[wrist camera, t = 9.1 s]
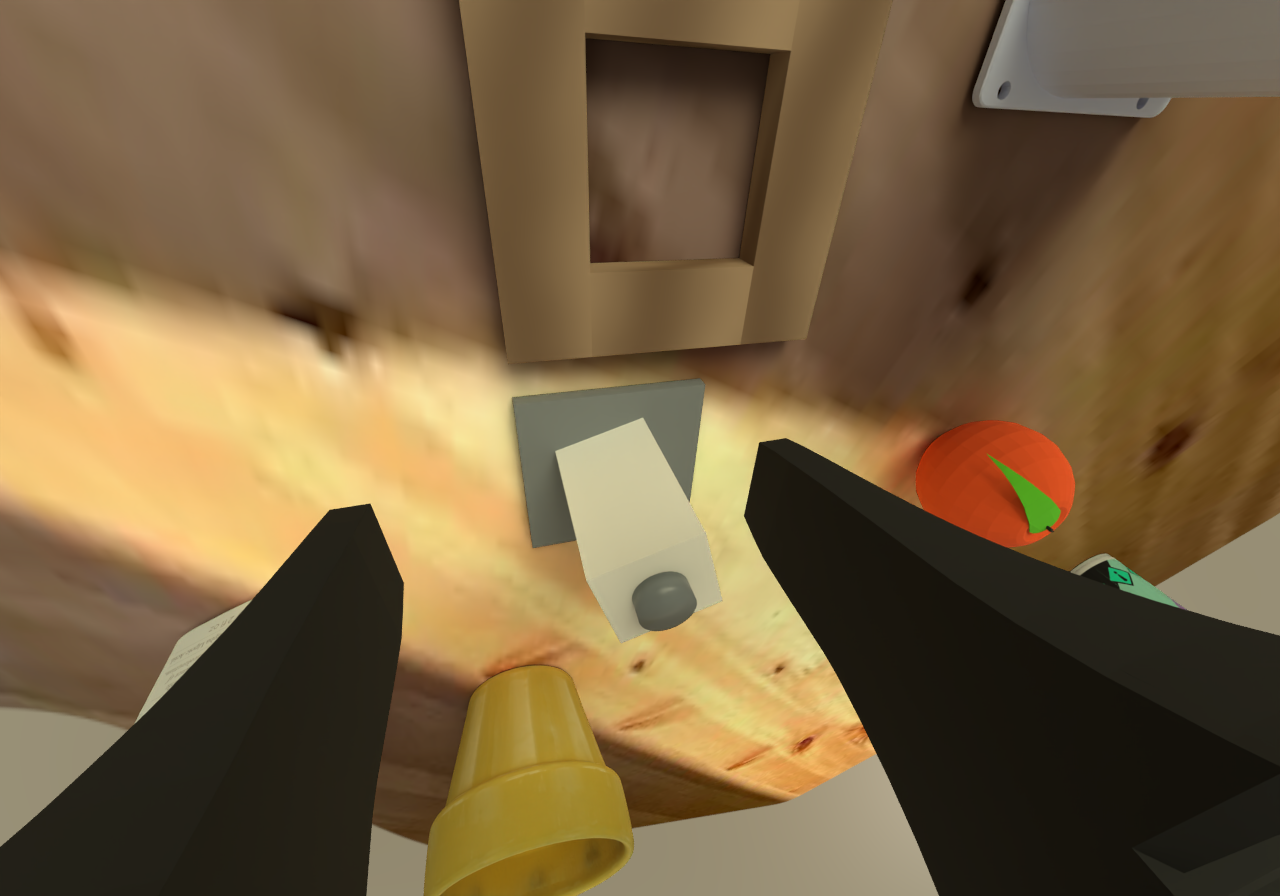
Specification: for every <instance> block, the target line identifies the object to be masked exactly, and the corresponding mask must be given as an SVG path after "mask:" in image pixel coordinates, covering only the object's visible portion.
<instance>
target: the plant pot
mask: <svg viewBox="0 0 1280 896" xmlns="http://www.w3.org/2000/svg"><path fill="white" fill-rule="evenodd" d="M633 850H634V839H633V833H632V828H631V822H630V818H629V813H628V808H627V804H626V800H625V795H624V791H623V788H622V784H621V781H620V778H619V776H618V775H617V774H616V773H615V772H614V771H613V770H612V769H610V768H608V767H607V766H605V763H604V761H603V758H602V756H601V753H600V750H599V748H598V745H597V743H596V740H595V738H594V735H593V732H592V730H591V727H590V725H589V722H588V719H587V717H586V714H585V712H584V709H583V707H582V704H581V701H580V698H579V696H578V693H577V690H576V688H575V685H574V682H573V680H572V678H571V677H570V676H569V675H568V674H567V673H566V672H564V671H563V670H561V669H559V668H555V667H552V666H544V665H532V666H524V667H519V668H514V669H511V670H508V671H505V672H502V673H500V674H497V675H495V676H494V677H492V678H490V679H488V680H487V681H485V682H484V683H483V684H481V685H480V686H479V687H478V688H477V689H476V690H475V692H474V693H473V694H472V696H471V698H470V701H469V706H468V710H467V715H466V719H465V724H464V729H463V733H462V737H461V742H460V746H459V751H458V755H457V759H456V764H455V768H454V772H453V777H452V781H451V785H450V789H449V794H448V798H447V802H446V807H445V808H444V809H443V810H442V811H441V812H440V813H439V814H438V816H437V817H436V819H435V820H434V822H433V824H432V827H431V830H430V835H429V842H428V851H427V860H426V871H425V883H424V896H577V895H579V894H581V893H583V892H585V891H587V890H589V889H591V888H593V887H595V886H596V885H598V884H600V883H602V882H603V881H605V880H607V879H608V878H610V877H611V876H612V875H614V874H615V873H616V872H617V871H619V870H620V869H621V868H622V867H623V866H624V865H625V864H626V863H627V862H628V861H629V859H630V857H631V856H632V853H633Z"/></svg>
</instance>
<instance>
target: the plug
mask: <svg viewBox="0 0 1280 896" xmlns="http://www.w3.org/2000/svg"><path fill="white" fill-rule="evenodd" d="M555 453H556V457H557V461H558V465H559V469H560V473H561V477H562V482H563V486H564V490H565V494H566V498H567V502H568V507H569V511H570V515H571V519H572V523H573V527H574V531H575V536H576V540H577V544H578V548H579V552H580V556H581V560H582V565H583V569H584V573H585V577H586V581H587V583H588V585H589V586H590V588H591V590H592V592H593V594H594V596H595V597H596V599H597V601H598V603H599V605H600V606H601V608H602V610H603V612H604V614H605V615H606V617H607V619H608V621H609V623H610V624H611V626H612V628H613V630H614V632H615V633H616V635H617V637H618V639H619V641H620V642H621V643H623V642H626V641H628V640H630V639H633V638H635V637H638V636H640V635H642V634H645V633H647V632H650V631H662V630H667V629H671V628H673V627H676V626H678V625H680V624H681V623H683V622H684V621H686V620H687V619H688V618H689V617H690V616H691V615H692V614H693V613H695V612H697V611H700V610H702V609H705V608H707V607H709V606H712V605H714V604H717V603H719V602H721V601H722V597H721V592H720V588H719V584H718V580H717V576H716V572H715V568H714V564H713V560H712V556H711V552H710V547H709V543H708V539H707V535H706V532H705V530H704V528H703V526H702V525H701V523H700V521H699V519H698V517H697V515H696V514H695V512H694V510H693V508H692V506H691V504H690V503H689V501H688V499H687V497H686V495H685V493H684V492H683V490H682V488H681V486H680V484H679V483H678V481H677V479H676V477H675V475H674V473H673V472H672V470H671V468H670V466H669V464H668V462H667V461H666V459H665V457H664V455H663V453H662V451H661V450H660V448H659V446H658V444H657V442H656V440H655V439H654V437H653V435H652V433H651V431H650V429H649V428H648V426H647V424H646V422H645V420H644V418H640V419H638V420H635V421H633V422H630V423H627V424H625V425H622V426H620V427H617V428H614V429H612V430H609V431H607V432H604V433H601V434H599V435H596V436H593V437H591V438H588V439H586V440H583V441H580V442H578V443H575V444H573V445H570V446H567V447H565V448H562V449H560V450H557V451H555Z"/></svg>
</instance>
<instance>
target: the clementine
mask: <svg viewBox="0 0 1280 896" xmlns="http://www.w3.org/2000/svg"><path fill="white" fill-rule="evenodd" d="M916 492H917V495H918V497H919V500H920V502H921V504H922V507H923V509H924V510H925V511H927V512H929V513H931V514H933V515H935V516H937V517H939V518H941V519H943V520H945V521H947V522H949V523H952V524H954V525H956V526H958V527H960V528H962V529H964V530H967V531H969V532H971V533H973V534H976V535H978V536H980V537H983V538H985V539H987V540H990V541H992V542H995V543H997V544H999V545H1002V546H1004V547H1007V548H1008V547H1017V546H1024V545H1028V544H1031V543H1034V542H1036V541H1038V540H1040V539H1042V538H1044V537H1045V536H1047V535H1048V534H1050V533H1051V532H1054V530H1055V529H1056V528H1057V527H1058V526H1059V525H1060V524H1061V523H1062V522H1063V521H1064V520H1065V519H1066V517H1067V516H1068V514H1069V512H1070V509H1071V507H1072V504H1073V498H1074V492H1075V480H1074V476H1073V473H1072V469H1071V466H1070V464H1069V463H1068V461H1067V459H1066V458H1065V457H1064V455H1063V454H1062V452H1061V451H1060V449H1059V448H1058V446H1057V445H1055V444H1054V443H1053V442H1052V441H1050V440H1049V439H1048V438H1047V437H1045V436H1044V435H1043V434H1041V433H1038V432H1036V431H1034V430H1031V429H1029V428H1027V427H1024V426H1022V425H1019V424H1017V423H1012V422H1005V421H999V420H987V421H978V422H971V423H967V424H963V425H961V426H958V427H956V428H954V429H952V430H950V431H948V432H945V433H944V434H942V435H941V436H939V437H938V438H937V439H936V440H935V441H933V442H932V443H931V444H930V446H929V447H928V448H927V449H926V451H925V452H924V454H923V456H922V458H921V460H920V463H919V465H918V468H917V471H916Z"/></svg>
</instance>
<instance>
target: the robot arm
mask: <svg viewBox="0 0 1280 896" xmlns="http://www.w3.org/2000/svg"><path fill="white" fill-rule="evenodd" d="M1000 87H1001V91H1000V93H999V95H998V90H999V88H1000ZM1178 97H1280V0H1006V1H1005V4H1004V6H1003V9H1002V12H1001V15H1000V18H999V20H998V23H997V26H996V29H995V31H994V34H993V37H992V40H991V43H990V45H989V48H988V51H987V54H986V57H985V59H984V62H983V65H982V68H981V71H980V73H979V76H978V79H977V82H976V85H975V87H974V91H973V95H972V100H973V103H974V105H975V106H976V107H980V108H996V109H1012V110H1028V111H1045V112H1061V113H1077V114H1093V115H1110V116H1126V117H1142V118H1152V117H1155V116H1157V115H1158V114H1160V113H1161V112H1162V111H1163V110H1164V109H1165V107H1166V106H1167V104H1168V103H1169V101H1170V99H1171V98H1178ZM744 517H745V519H746V522H747V524H748V526H749V528H750V531H751V533H752V535H753V537H754V540H755V542H756V544H757V546H758V548H759V550H760V552H761V554H762V556H763V558H764V560H765V561H766V563H767V565H768V566H769V568H770V570H771V571H772V573H773V574H774V576H775V577H776V579H777V581H778V582H779V584H780V585H781V587H782V589H783V590H784V592H785V593H786V595H787V596H788V598H789V599H790V601H791V603H792V604H793V606H794V607H795V609H796V610H797V612H798V613H799V615H800V616H801V618H802V620H803V621H804V623H805V624H806V626H807V627H808V629H809V630H810V632H811V634H812V635H813V637H814V638H815V640H816V641H817V643H818V644H819V646H820V648H821V649H822V651H823V652H824V654H825V656H826V657H827V659H828V661H829V662H830V664H831V666H832V667H833V669H834V671H835V672H836V674H837V676H838V678H839V680H840V682H841V684H842V686H843V688H844V690H845V692H846V693H847V695H848V697H849V699H850V701H851V703H852V705H853V707H854V709H855V711H856V713H857V715H858V717H859V719H860V721H861V722H862V724H863V727H864V729H865V731H866V733H867V735H868V737H869V739H870V741H871V743H872V745H873V747H874V749H875V751H876V753H877V756H878V757H879V760H880V762H881V764H882V766H883V768H884V770H885V772H886V774H887V776H888V778H889V780H890V783H891V785H892V787H893V790H894V792H895V794H896V796H897V798H898V801H899V803H900V805H901V807H902V809H903V812H904V814H905V816H906V819H907V821H908V823H909V825H910V827H911V830H912V832H913V834H914V836H915V839H916V841H917V843H918V846H919V848H920V851H921V853H922V855H923V858H924V860H925V863H926V865H927V867H928V870H929V872H930V875H931V877H932V880H933V882H934V885H935V887H936V890H937V892H938V894H939V896H1280V636H1279V635H1275V634H1271V633H1267V632H1263V631H1259V630H1255V629H1251V628H1248V627H1244V626H1240V625H1236V624H1232V623H1229V622H1225V621H1222V620H1218V619H1215V618H1211V617H1208V616H1205V615H1201V614H1198V613H1194V612H1191V611H1188V610H1185V609H1181V608H1178V607H1174V606H1171V605H1168V604H1164V603H1161V602H1158V601H1154V600H1151V599H1148V598H1145V597H1142V596H1139V595H1136V594H1133V593H1130V592H1126V591H1123V590H1120V589H1117V588H1114V587H1111V586H1108V585H1105V584H1103V583H1100V582H1097V581H1094V580H1091V579H1088V578H1086V577H1083V576H1080V575H1077V574H1074V573H1071V572H1069V571H1066V570H1063V569H1060V568H1057V567H1055V566H1052V565H1049V564H1047V563H1044V562H1041V561H1039V560H1036V559H1034V558H1031V557H1028V556H1026V555H1024V554H1021V553H1019V552H1016V551H1014V550H1011V549H1009V548H1007V547H1004V546H1002V545H999V544H997V543H995V542H992V541H990V540H987V539H985V538H983V537H980V536H978V535H976V534H973V533H971V532H969V531H967V530H964V529H962V528H960V527H958V526H956V525H954V524H952V523H949V522H947V521H945V520H943V519H941V518H939V517H937V516H935V515H933V514H931V513H929V512H927V511H925V510H922V509H920V508H918V507H916V506H914V505H912V504H910V503H908V502H907V501H905V500H903V499H901V498H899V497H897V496H895V495H893V494H891V493H889V492H887V491H885V490H883V489H882V488H880V487H878V486H876V485H874V484H872V483H870V482H868V481H867V480H865V479H863V478H861V477H859V476H857V475H856V474H854V473H852V472H850V471H848V470H846V469H845V468H843V467H841V466H839V465H837V464H835V463H834V462H832V461H830V460H828V459H826V458H824V457H823V456H821V455H819V454H817V453H815V452H813V451H811V450H809V449H807V448H805V447H803V446H801V445H799V444H797V443H795V442H793V441H791V440H789V439H787V438H785V439H779V440H772V441H766V442H760V443H759V447H758V452H757V456H756V461H755V466H754V471H753V476H752V480H751V485H750V490H749V495H748V500H747V504H746V509H745V514H744ZM403 590H404V582H403V580H402V578H401V575H400V573H399V571H398V568H397V566H396V563H395V561H394V559H393V556H392V554H391V552H390V549H389V547H388V544H387V542H386V540H385V537H384V535H383V533H382V530H381V528H380V525H379V523H378V521H377V518H376V516H375V514H374V511H373V509H372V506H371V504H365V505H358V506H352V507H345V508H339V509H333V510H329V511H328V513H327V514H326V515H325V516H324V517H323V518H322V519H321V520H320V522H319V523H318V524H317V525H316V526H315V527H314V529H313V530H312V531H311V532H310V533H309V534H308V536H307V537H306V538H305V539H304V540H303V541H302V543H301V544H300V545H299V546H298V547H297V548H296V550H295V551H294V552H293V553H292V554H291V556H290V557H289V558H288V559H287V560H286V561H285V563H284V564H283V565H282V566H281V567H280V568H279V570H278V571H277V572H276V573H275V574H274V575H273V577H272V578H271V579H270V580H269V581H268V582H267V584H266V585H265V586H264V587H263V588H262V589H261V590H260V592H259V593H258V594H257V595H256V596H255V597H254V598H253V599H252V601H251V602H250V603H249V604H248V605H247V606H246V607H245V609H244V610H243V611H242V612H241V613H240V614H239V615H238V616H237V618H236V619H235V620H234V621H233V622H232V623H231V624H230V626H229V627H228V628H227V629H226V630H225V631H224V632H223V633H222V634H221V635H220V636H219V637H218V638H217V639H216V640H215V641H214V643H213V644H212V645H211V646H210V647H209V648H208V649H207V650H206V651H205V652H204V653H203V654H202V655H201V656H200V657H199V658H198V659H197V660H196V661H195V663H194V664H193V665H192V666H191V667H190V668H189V669H188V670H187V671H186V672H185V673H184V674H183V675H182V676H181V677H180V678H179V679H178V680H177V682H176V683H175V684H174V685H173V686H172V687H171V688H170V689H169V690H168V691H167V692H166V693H165V694H164V695H163V696H162V697H161V698H160V699H159V700H158V701H157V702H156V703H155V704H154V705H153V706H152V707H151V708H150V709H149V710H148V711H147V712H146V713H145V714H144V715H143V716H142V717H141V718H140V719H139V720H138V721H137V722H136V723H135V724H134V725H133V726H132V727H131V728H130V729H129V730H128V731H127V732H126V733H125V734H124V735H123V736H122V737H121V738H120V739H119V740H118V741H117V742H115V744H113V745H112V746H111V747H110V748H109V749H108V750H107V751H106V752H105V753H104V754H103V755H102V756H101V757H99V758H98V759H97V760H96V761H95V762H94V763H93V764H92V765H91V766H90V767H89V768H88V769H87V770H86V771H84V773H82V774H81V775H80V776H79V777H78V778H77V779H76V780H75V781H74V782H73V783H72V784H70V785H69V786H68V787H67V788H66V789H65V790H64V791H63V792H62V793H61V794H60V795H59V796H58V797H56V798H55V799H54V800H53V801H52V802H51V803H50V804H49V805H48V806H47V807H46V808H44V809H43V810H42V811H41V812H40V813H39V814H38V815H37V816H35V817H34V818H33V819H32V820H31V821H30V822H29V823H28V824H26V825H25V826H24V827H23V828H22V829H21V830H19V831H18V832H17V833H16V834H15V835H14V836H13V837H11V838H10V839H9V840H8V841H7V842H6V843H4V844H3V845H2V846H1V847H0V896H366V892H367V879H368V865H369V854H370V841H371V828H372V816H373V807H374V800H375V792H376V785H377V778H378V772H379V766H380V761H381V755H382V749H383V744H384V738H385V732H386V726H387V721H388V715H389V709H390V704H391V698H392V692H393V687H394V681H395V675H396V669H397V663H398V657H399V651H400V645H401V638H402V619H403Z"/></svg>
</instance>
